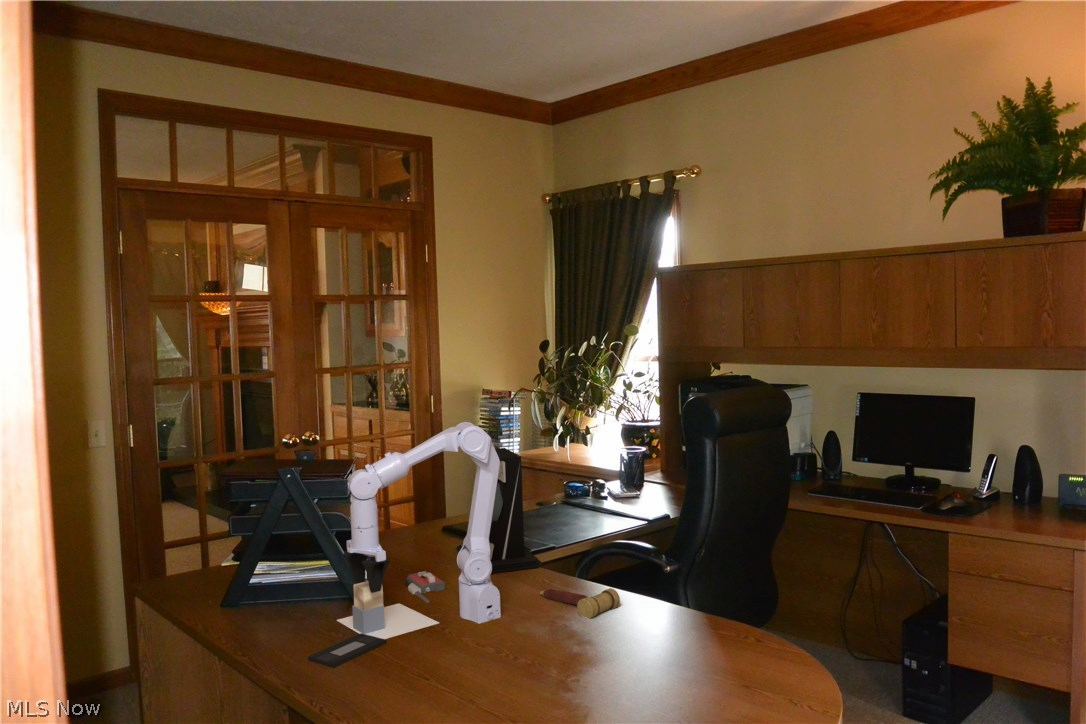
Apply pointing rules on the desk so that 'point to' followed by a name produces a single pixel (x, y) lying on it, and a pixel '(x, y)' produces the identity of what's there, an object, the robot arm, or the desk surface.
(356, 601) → the maple cube
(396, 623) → the blank cream board
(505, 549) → the award
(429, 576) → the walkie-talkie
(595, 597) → the gavel
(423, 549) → the desk surface
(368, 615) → the slate block
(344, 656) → the vhs tape
